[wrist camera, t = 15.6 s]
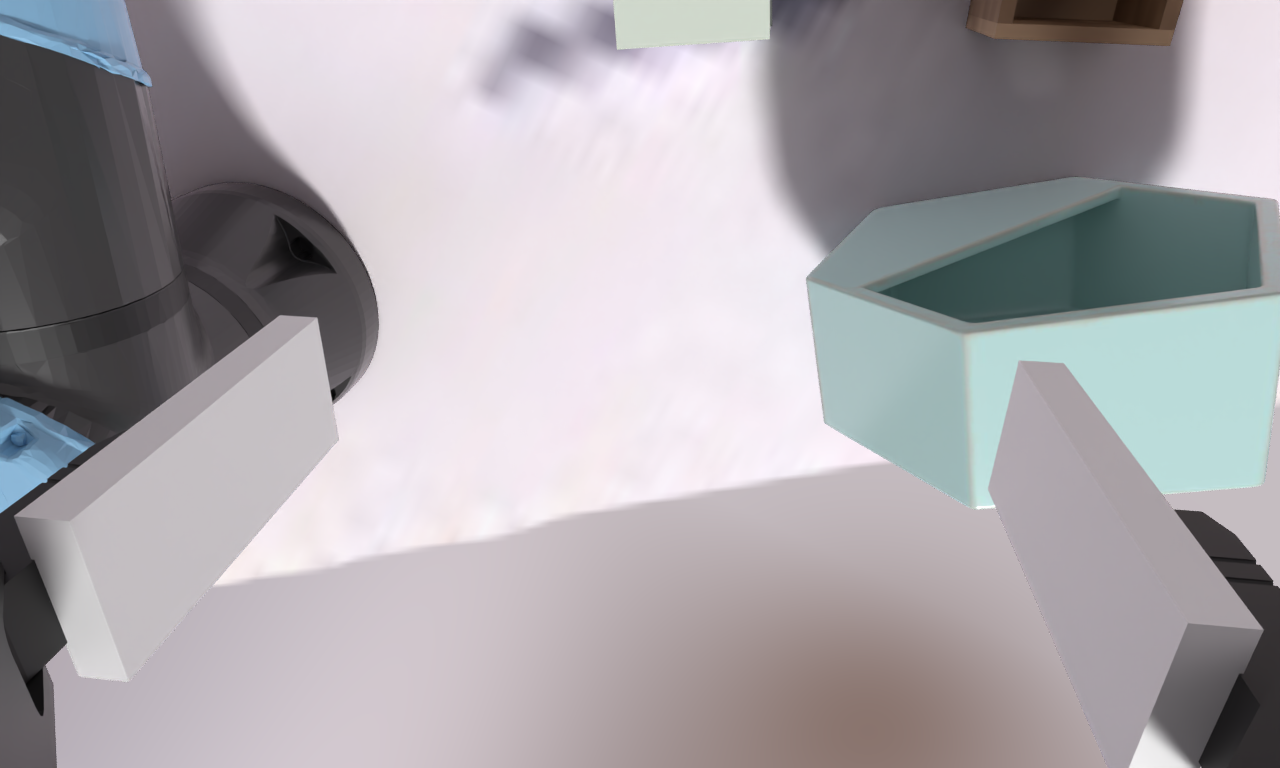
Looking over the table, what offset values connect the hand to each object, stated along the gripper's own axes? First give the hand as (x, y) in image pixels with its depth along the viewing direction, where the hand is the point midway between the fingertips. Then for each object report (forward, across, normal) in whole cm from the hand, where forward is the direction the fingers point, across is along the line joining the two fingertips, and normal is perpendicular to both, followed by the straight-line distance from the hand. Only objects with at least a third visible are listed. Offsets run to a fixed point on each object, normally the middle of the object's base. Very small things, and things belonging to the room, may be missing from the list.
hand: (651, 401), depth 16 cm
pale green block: (+32, -1, +6) cm, 33 cm away
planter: (+32, +15, -7) cm, 36 cm away
